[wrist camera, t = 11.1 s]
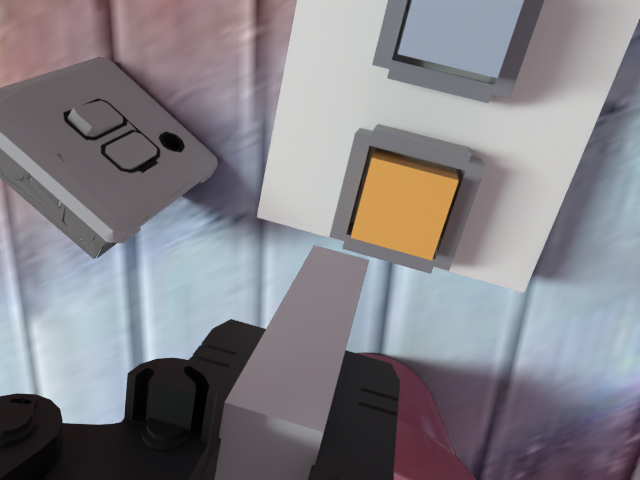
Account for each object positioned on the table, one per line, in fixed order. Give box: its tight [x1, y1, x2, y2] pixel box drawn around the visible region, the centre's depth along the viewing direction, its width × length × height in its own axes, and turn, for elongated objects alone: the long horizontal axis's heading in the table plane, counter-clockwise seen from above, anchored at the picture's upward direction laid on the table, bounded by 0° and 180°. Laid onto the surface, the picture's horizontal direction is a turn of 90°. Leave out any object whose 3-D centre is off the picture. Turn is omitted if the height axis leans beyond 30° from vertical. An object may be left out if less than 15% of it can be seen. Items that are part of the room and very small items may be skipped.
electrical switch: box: [0, 57, 218, 259], centre depth 28 cm, size 9×5×9 cm, turn 48°
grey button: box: [398, 0, 524, 78], centre depth 21 cm, size 4×4×3 cm
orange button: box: [351, 148, 459, 260], centre depth 25 cm, size 4×4×3 cm
